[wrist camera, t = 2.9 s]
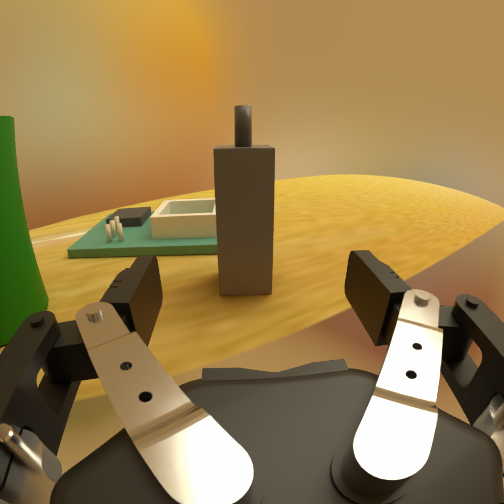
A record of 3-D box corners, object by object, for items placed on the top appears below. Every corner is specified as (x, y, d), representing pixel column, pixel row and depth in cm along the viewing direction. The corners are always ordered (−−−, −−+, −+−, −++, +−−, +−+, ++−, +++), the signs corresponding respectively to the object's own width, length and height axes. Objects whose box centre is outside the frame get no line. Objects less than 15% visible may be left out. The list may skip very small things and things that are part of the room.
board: (69, 257, 29) (62, 229, 27) (110, 220, 42) (107, 198, 40) (242, 253, 30) (241, 220, 29) (238, 214, 43) (238, 190, 41)
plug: (220, 295, 23) (212, 104, 17) (221, 269, 27) (216, 109, 21) (271, 294, 23) (275, 104, 17) (265, 267, 27) (266, 109, 21)
